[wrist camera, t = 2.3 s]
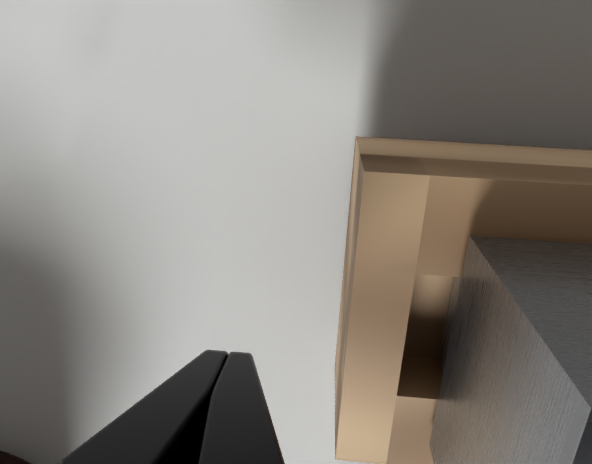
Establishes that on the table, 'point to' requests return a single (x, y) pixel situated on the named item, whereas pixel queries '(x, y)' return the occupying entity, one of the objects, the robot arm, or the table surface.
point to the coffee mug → (10, 459)
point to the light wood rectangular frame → (430, 270)
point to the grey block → (517, 356)
